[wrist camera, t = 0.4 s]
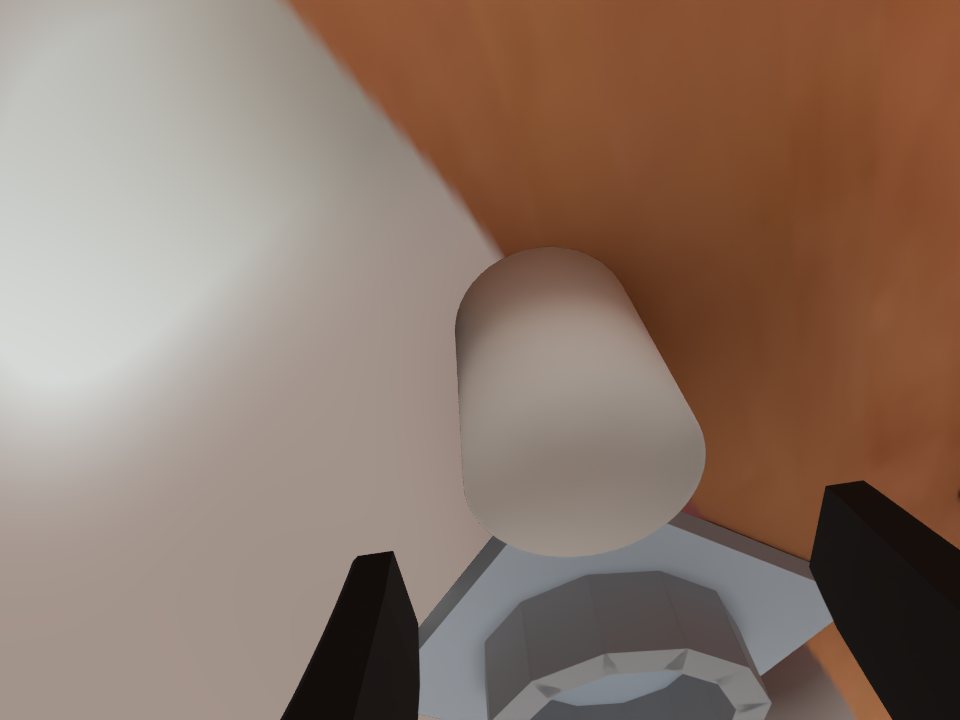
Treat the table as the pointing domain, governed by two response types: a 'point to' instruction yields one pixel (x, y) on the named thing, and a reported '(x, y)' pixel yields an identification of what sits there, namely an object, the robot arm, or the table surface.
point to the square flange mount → (619, 630)
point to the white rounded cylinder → (568, 409)
